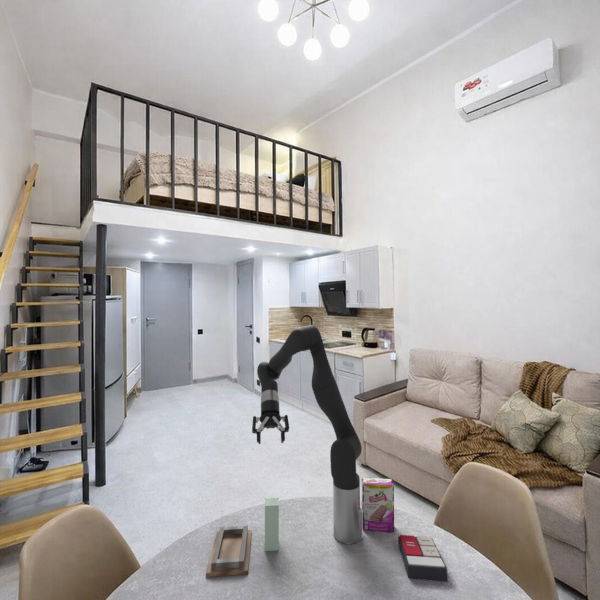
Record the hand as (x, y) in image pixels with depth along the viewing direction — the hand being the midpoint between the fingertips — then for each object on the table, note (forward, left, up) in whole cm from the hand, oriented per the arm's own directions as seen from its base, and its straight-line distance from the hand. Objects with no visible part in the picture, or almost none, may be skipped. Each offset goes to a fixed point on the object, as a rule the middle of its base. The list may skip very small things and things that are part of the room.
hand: (271, 442), depth 123 cm
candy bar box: (-38, +7, -29) cm, 48 cm away
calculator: (-46, +24, -29) cm, 60 cm away
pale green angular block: (0, +13, -29) cm, 31 cm away
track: (+13, +15, -29) cm, 35 cm away
